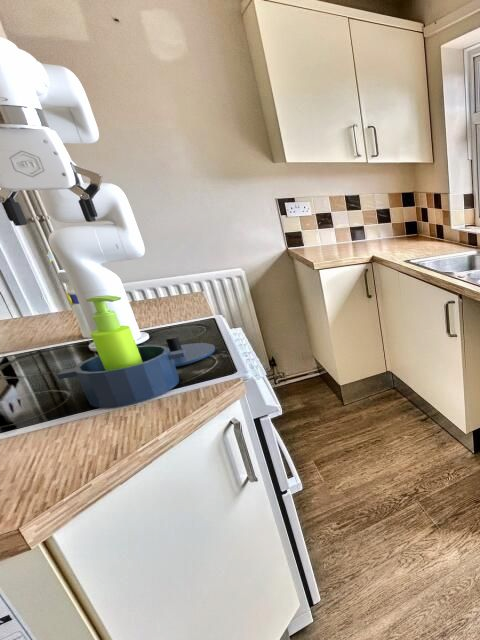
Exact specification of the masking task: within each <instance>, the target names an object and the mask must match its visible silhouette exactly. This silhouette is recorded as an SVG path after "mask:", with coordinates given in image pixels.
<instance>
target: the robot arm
mask: <svg viewBox="0 0 480 640" xmlns="http://www.w3.org/2000/svg"><path fill="white" fill-rule="evenodd" d="M99 139H100V132H99V128H98V124H97V121H96V119H95V116H94V113H93V110H92V107H91V104H90V101H89V99H88V96H87V93H86V91H85V89H84V87H83V85H82V83H81V81H80V79H79V78H78V76H77V75H76V74H74V72H73V71H72V70H70V69H69V68H67V67H65V66H63V65H58V64H51V63H49V64H48V63H41V62H40V61H39V60H37V59H36V57H34V56H33V55H32V54H30V53H29V52H27V51H26V50H24V49H21V48H19V47H18V46H17V45H16V44H15V43H14V42H12V41H11V40H9V39H8V38H5V37H2V36H0V203H1V205H2V208H3V210H4V212H5V215H6V217H7V219H8V220H9V221H10V222H13V225H14V226H15V227H19V226H20V227H21V226H26V225H28V221H27V218H26V216H25V213H24V212H23V209H22V207H21V204H20V203H19V202H18V201H15V198H16V196H17V195H18V193H20V191H38V192H39V196H40V198H41V200H42V203H43V206H44V208H45V210H46V212H47V214H48V215H49V217H50V218H51V219H53V220H54V221H56V222H59V223H67V224H68V223H69V224H75V223H76V224H78V223H98V222H111V223H108V224H107V223H106V224H87V225H86V224H85V225H72V226H64V227H60V228H57V229H54V230H53V231H51V232H50V233H49V235H48V244H49V247H50V248H51V251H52V252H53V254H54V255H55V257H56V259H57V260H58V262H59V263H60V265H61V266H62V268H63V270H65V272H66V274H67V276H68V278H69V280H70V282H71V285H72V287H73V289H74V292H75V294H76V297H77V299H78V301H79V304H80V306H81V309H82V311H83V313H84V316H85V318H86V321H87V323H88V326H89V328H90V330H91V333H92V332H94V331H96V330H98V329H97V326H96V324H95V321H94V319H93V316H92V315H93V314H95V313H96V312H97V311H96V308H95V306H94V303H93V302H87V300H86V299H88V298H92V297H96V296H106V295H110V296H117V297H121V300H117V301H114V302H109V301H105V303H106V305H107V308H108V310H111V311H114V312H115V313H116V316H117V318H118V321H119V323H120V326H129V327H130V330H131V332H132V335H133V338H134V340H135V343H136V346H138V345H139V344H143V343H145V342H146V341H148V340H149V339H150V335H149V333H147V332H145V331H141V330H140V328H139V325H138V322H137V320H136V317H135V314H134V311H133V308H132V306H131V304H130V301H129V297H128V295H127V293H126V290H125V287H124V284H123V282H122V280H121V278H120V276H119V275H117V274H116V273H115V272H113V271H112V270H110V269H109V268H107V267H106V266H104V265H102V264H107V263H113V262H114V263H115V262H123V261H132V260H138V259H141V258H143V256H145V254H146V253H145V252H146V247H145V244H144V241H143V238H142V235H141V232H140V229H139V227H138V223H137V221H136V218H135V215H134V212H133V210H132V207H131V205H130V202H129V199H128V198H127V195H126V194H125V192H124V191H123V189H121V187H120V186H118V185H116V184H114V183H110V182H103V175H102V174H101V173H98V172H95V171H93V170H90V169H87V168H84V167H82V166H79V165H77V164H76V163H75V162H74V161H73V160H72V158H71V156H70V154H69V152H68V150H67V148H66V146H65V145H64V144H73V145H74V144H77V145H78V144H81V145H90V144H95V143H96V142H98V141H99ZM82 176H84V177H87V178H89V179H90V181H89V182H84V180H83V178H82ZM88 348H89V351H92V352H98V351H97V349H96V347H95V344H94V342H93V341H92V342H91V343H89V344H88Z"/></svg>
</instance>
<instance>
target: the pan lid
mask: <svg viewBox="0 0 480 640" xmlns="http://www.w3.org/2000/svg"><path fill="white" fill-rule="evenodd" d="M165 341H166V345H167V348H169V350H170V352H173V351H179V350H185V351H186V355H185V357H182V358H176V359H173V362H174V365H175V367H176V368H178V367H181V366H185V365H189V364H192V363H195V362H198V361H200V360H203V359H206V358H208V357H209V356H211V355H212V354H213V353H215V351H216V347H215V345H214V344H212V343H209V342H208V343H207V342H193V343H186V344H181V342H180V339H179V336H178V335H171V336H167V337H165Z"/></svg>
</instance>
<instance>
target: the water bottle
mask: <svg viewBox="0 0 480 640" xmlns="http://www.w3.org/2000/svg"><path fill="white" fill-rule="evenodd" d="M53 254H54V253H51V252H50V250H47V254H46V257H47V258H48V261H49V263H50V264H51V263H52V262H55V261H54V258H53V256H54V255H53ZM56 273H57V274H56V275H57V278H58V279H59V281H60V282H61V283H62V284H65V286H66V291H65V295H66V298H67V300H68V302H69V304H70V305H71V308H72V311H73V315H74V317H75V318H76V321H77V324H78V327H79V329H80V333H81V335H82V338H84V339H92V337H91V330H90V328H89V326H88V323H87V321H86V318H85V316H84V313H83V311H82V309H81V306H80V304H79V301H78V299H77V297H76V294H75V292H74V289H73V287H72V285H71V282H70V280H69V278H68V276H67V274H66V272H65V270H64V269H59V270H57V271H56Z"/></svg>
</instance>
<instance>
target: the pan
mask: <svg viewBox="0 0 480 640" xmlns="http://www.w3.org/2000/svg"><path fill="white" fill-rule="evenodd" d="M136 346H137V348H138V351H139V354H140V356H141V359H142V362H143V363H140V364H136V365H132V366H129V367H125V368H120V369H114V370H109V371H105V368H104V366H103V363H102V361H101V359H100V356H99V355H95V356H93V357H90V358H88V359H86V360H84V361H82V362H80V363H78V364H77V365H76V366H75V367H74V368H68V369H62V370H61V371H59V372H58V374H57V377H58V379H59V380H62V379H63V380H64V379H68V378H75V377H77V379H78V382H79V383H80V386H81V388H82V390H83V392H84V395H85V398H86V399H87V401H88V403H89V405H90V406H92V407H94V408H98V409H99V408H100V409H101V408H102V409H109V408H118V407H124V406H130V405H134V404H138V403H141V402H144V401H149V400H151V399H154V398H156V397H158V396H161V395H163V394H165V393H167V392H169V391H171V390H172V389H174V388H175V387H176V386H177V385H179V382H180V376H179V373H178V371H177V367H175V365H174V362H173V359H176V358H182V357H185V355H186V351H185V350H179V351H173V352H170V350H169V347H168V346H166V345H159V344H147V345H136Z"/></svg>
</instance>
